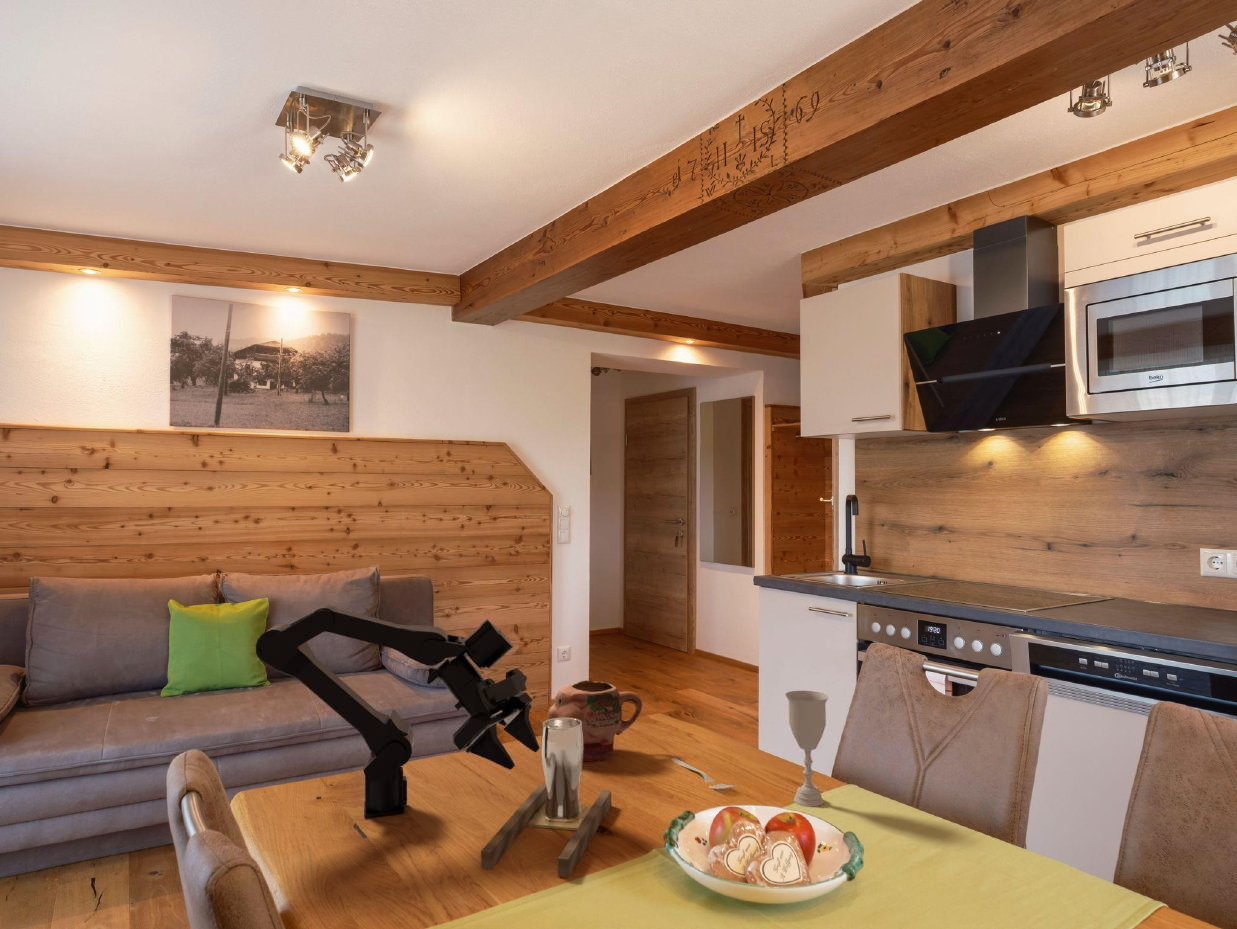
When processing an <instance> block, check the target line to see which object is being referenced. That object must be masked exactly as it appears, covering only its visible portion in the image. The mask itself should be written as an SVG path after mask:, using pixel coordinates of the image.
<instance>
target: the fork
mask: <svg viewBox="0 0 1237 929" xmlns="http://www.w3.org/2000/svg"><path fill="white" fill-rule="evenodd" d="M673 760H674V761H673ZM671 761H672V762H673V763H675V764H677V765H679V766H681V767H683V768H685V769H688V770H691V771H694V772H697V773H699V774H700V775H701V776H702V777H703V778H704V783H711V782H715V781H716V780H714V779H713V778H711V777H709V775H707V774H706V773H705V772H704V771H702V770H700V769H697V768H695V767H694V766H691V765H690V764H688V763H685V762H684V761H682V760H681V761H680V759H679V760H678V758H674V757H672V758H671ZM708 787H709V788H711V789H714V790H725V789H731V788H736V787H737V785H732V784H731V785H729V784H724V783H719V784H715V785H712V786H710V785H709V786H708Z"/></svg>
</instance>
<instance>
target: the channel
mask: <svg viewBox="0 0 1237 929" xmlns="http://www.w3.org/2000/svg"><path fill="white" fill-rule="evenodd" d="M546 802H547V787H546V785H541V784H539V785H537V786H536V788H535V789H534V790H533V791H532V792H531V793H530V794H529V795H528V797H527V798H526V799H525V801H524V802H523V803H521V805H520V806H519V807H518V808H517V809H516V810H515V812H514V813H513V814H512V815H511V816H510V817H509V818H508V819H507V821H506V822H505V823H504V824H503V825H502V826H501V828H500V829H499V830H498V831H497V832H496V833H495V834H494V836H493V837H492V838H491V839H490V840H489V841H488V843H487V844H485V846H484V847H483V848H482V849H481V850H480V870H492V869H493V868H494V867H495V866H496V864H497V863H498V862H499V860H500V859H501V858H502V857H503V855H505V853H506V852H507V850H508V849H509V848H510V847H511V846H512V845H513V843H514V842H515V841H516V839H517V838H518V837H519V836H520V835H521V833H522V832H523V831H524V830H525V828H526V827H528V826H527V824H528V822H529V821H530V820H531V819H532V817H533V816H534V815H535V814H536V813H537V811H538V810H539V809H540V808H541V806H542V805H543V804H544V803H546ZM591 806H592V807H591V809H590V810H589V812H588V813H587V815H586V816H585V818H584V819H583V821H582V822H581V824H580V825H579V827H578V829H577V830H576V831H575V832H574V833H573V835H572V836H571V837H570V839H569V841H568V843H567V844H566V845H565V847H564V849H562V852H561V853H560V855H559V856H558V857H557V877H558V878H559V877H560V878H570V876H571V874H572V872H573V871H574V869H575V867H576V865H577V864H578V862H579V861H580V859H581V858H582V855H583V854H584V852H585V851H586V848H587V847H588V846H589V844H590V842H591V840H592V839H593V837H594V835H595V834H596V832H597V831H598V829H599V827H600V825H601V824H602V822H603V820H604V819H605V817H606V815H607V814H608V811H609V810H610V808H611V807H612V790H607V789H602V790H601V792H600V793H599V795H598V797H597V798H596V800H595V801H594V802H593V804H592V805H591Z"/></svg>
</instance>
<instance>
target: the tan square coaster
mask: <svg viewBox="0 0 1237 929" xmlns="http://www.w3.org/2000/svg"><path fill="white" fill-rule="evenodd" d="M580 806H581V816H580V817H579V818H577V819H575V820H572V821H566V822H557V821H552V820H549V819H547V818H546V817H545V808H546V802H545V803H544V804H543V805H542V806H541V808H540V809H539V810H538V811H537V813H536V814H535V815H534V816H533V817H532V819H531V820H530V821H529V822H528V824H527V826H526V827H528V828H529V827H530V828H531V827H533V828H540V829H541V828H542V829H551V830H563V831H575V832H576V830H577V829H578V827H579V825H580V824H581V822H582V821H583V819H584V818H585V816H586V815H587V813H588V812H589V810H590V809H591V807H592V806H593V805H581V804H580Z"/></svg>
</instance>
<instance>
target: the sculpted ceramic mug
mask: <svg viewBox="0 0 1237 929" xmlns="http://www.w3.org/2000/svg"><path fill="white" fill-rule="evenodd" d="M626 702H631V703H632V704H634V707H635V711H634V713H633V714H632V716H631V717H630V718H629V719H627V720H623V719H622V718H623V711H622V710H623V708H622V707H623V705H624V704H625V703H626ZM642 708H643V702H642V700H641V697H640V695H638V694H637V693H635V692H632V691H628V690H626V691H618V688H617V687H616V686H615V685H613V684H611V683H607V682H603V681H594V680H593V681H592V680H582V681H578V682H574V683H572V684H569V685H568V686H565V687H563V688H561V689H559V691H558V692H557V693H556V696H555V697H554V703H553V704H552V706H550V708H549V709H548V711H547V718H548V719H547V720H549V719H553V718H561V717H567V718H575V719H578V720H580V721H581V722H582V731H583V747H584V749H583V762H593V761H592V760H598V761H602V760H601V759H604V760H607V759H609V758H610V757H612V754H613V751H614V743H615V736H616V735H617V736H620V735H622V734H623V732H624V731H626V730H628V729H629V728H631V726H632V725H633V724H634V723H635V722H636V720H637V719H638V717H639V716H640V713H641V712H642ZM608 757H609V758H608ZM606 758H607V759H606Z"/></svg>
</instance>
